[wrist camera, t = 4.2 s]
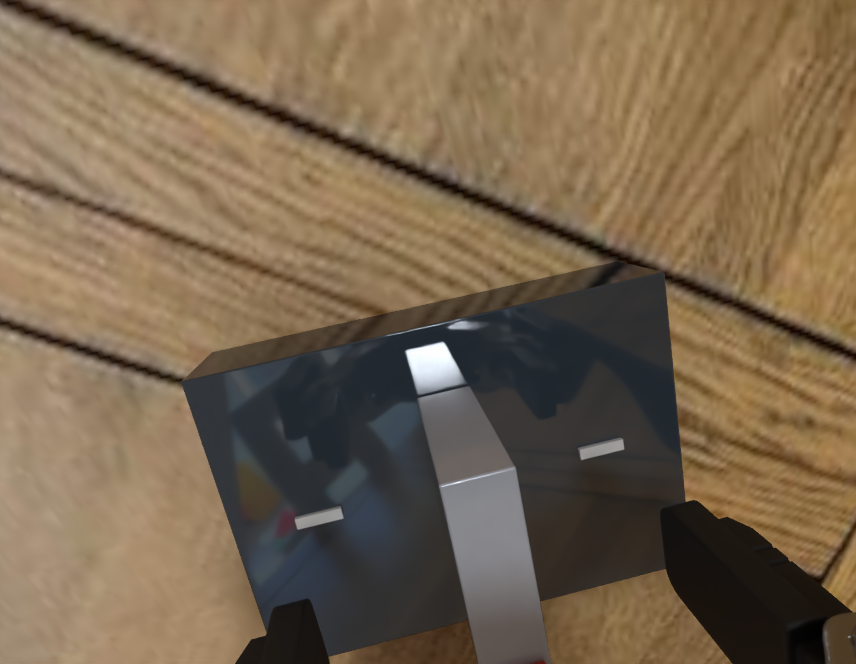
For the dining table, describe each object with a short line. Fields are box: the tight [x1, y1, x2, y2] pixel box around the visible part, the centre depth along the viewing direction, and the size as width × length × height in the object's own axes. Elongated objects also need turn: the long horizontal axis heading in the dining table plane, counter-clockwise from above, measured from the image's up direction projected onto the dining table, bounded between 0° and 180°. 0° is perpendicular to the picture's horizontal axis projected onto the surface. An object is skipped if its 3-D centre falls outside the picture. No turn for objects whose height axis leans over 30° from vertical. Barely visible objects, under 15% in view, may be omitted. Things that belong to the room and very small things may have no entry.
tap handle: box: [417, 386, 551, 664], centre depth 14 cm, size 6×2×5 cm, turn 12°
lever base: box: [182, 262, 686, 657], centre depth 18 cm, size 14×10×3 cm
